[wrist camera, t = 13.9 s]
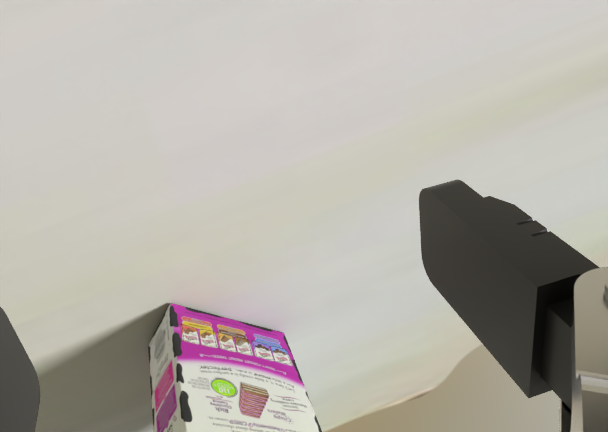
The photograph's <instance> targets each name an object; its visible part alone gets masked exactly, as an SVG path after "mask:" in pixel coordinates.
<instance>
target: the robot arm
mask: <svg viewBox="0 0 608 432" xmlns="http://www.w3.org/2000/svg"><path fill="white" fill-rule="evenodd" d="M419 210H420V231H421V252H422V260H423V264H424V268H425V270H426V273H427V275H428V277H429V279H430V281H431V282H432V284H433V285H434V286H435V288H436V289H437V290H438V291H439V292H440V293H441V295H442V296H443V297H444V298H445V299H446V301H447V302H448V303H449V304H450V305H451V307H452V308H453V309H454V310H455V311H456V312H457V314H458V315H459V316H460V317H461V318H462V320H463V321H464V322H465V323H466V324H467V326H468V327H469V328H470V329H471V330H472V331H473V333H474V334H475V335H476V336H477V337H478V339H479V340H480V341H481V342H482V343H483V345H484V346H485V347H486V348H487V349H488V350H489V352H490V353H491V354H492V355H493V356H494V358H495V359H496V360H497V361H498V362H499V364H500V365H501V366H502V367H503V368H504V370H505V371H506V372H507V373H508V374H509V375H510V377H511V378H512V379H513V380H514V381H515V383H516V384H517V385H518V386H519V387H520V388H521V390H522V391H523V392H524V393H525V394H526V396H527V397H528V398H531V397H533V396H536V395H539V394H542V393H545V392H547V391H550V390H553V391H554V392H555V393H556V394H557V395H558V396H559V398H560V399H561V402H560V410H559V432H608V267H602V268H599V267H598V266H597V265H595V264H594V263H593V262H591V261H590V260H589V259H587V258H586V257H584V256H583V255H582V254H580V253H579V252H578V251H576V250H575V249H574V248H572V247H571V246H570V245H568V244H567V243H565V242H564V241H563V240H561V239H560V238H559V237H557V236H556V235H555V234H553V233H552V232H551V231H550V232H547V229H546V228H545V227H544V226H542V225H541V224H540V223H538V222H537V221H536V220H535V221H533V220H532V218H531V217H530V216H529V215H527V214H526V213H525V212H523V211H522V210H521V209H519V208H518V207H517V206H515V205H513V204H511V203H508V202H505V201H502V200H499V199H496V198H493V197H491V196H488V197H485V198H483V197H482V196H481V195H479V194H478V193H477V192H475V191H474V190H473V189H472V188H470V187H469V186H468V185H466V184H465V183H464V182H462V181H461V180H454V181H450V182H447V183H443V184H439V185H436V186H432V187H428V188H425V189H422V191H421V192H420V196H419ZM39 403H40V388H39V382H38V377H37V374H36V371H35V369H34V366H33V364H32V363H31V361H30V359H29V357H28V355H27V353H26V351H25V349H24V347H23V346H22V344H21V342H20V340H19V338H18V336H17V334H16V332H15V330H14V329H13V327H12V325H11V323H10V321H9V319H8V317H7V315H6V314H5V312H4V311H3V309H2V308H1V307H0V432H35V426H36V420H37V415H38V409H39Z"/></svg>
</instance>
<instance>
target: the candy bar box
mask: <svg viewBox="0 0 608 432" xmlns="http://www.w3.org/2000/svg"><path fill="white" fill-rule="evenodd" d="M148 350H149V351H148V352H149V365H150V383H151V395H152V411H153V425H154V432H322V431H321V428H320V426H319V423H318V421H317V418H316V415H315V412H314V410H313V407H312V404H311V402H310V400H309V397H308V395H307V392H306V389H305V387H304V384H303V382H302V379H301V376H300V374H299V371H298V369H297V366H296V363H295V360H294V358H293V355H292V353H291V350H290V348H289V345H288V342H287V340H286V337H285V335H284V333H282V332H279V331H275V330H271V329H267V328H264V327H260V326H256V325H252V324H248V323H244V322H240V321H236V320H232V319H228V318H224V317H221V316H217V315H213V314H209V313H206V312H202V311H198V310H194V309H191V308H187V307H183V306H180V305H176V304H172V303H170V304H169V306H168V308H167V310H166V312H165V314H164V316H163V319H162V321H161V323H160V325H159V326H158V328H157V330H156V332H155V333H154V335H153V337H152V339H151V341H150V343H149V346H148Z"/></svg>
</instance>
